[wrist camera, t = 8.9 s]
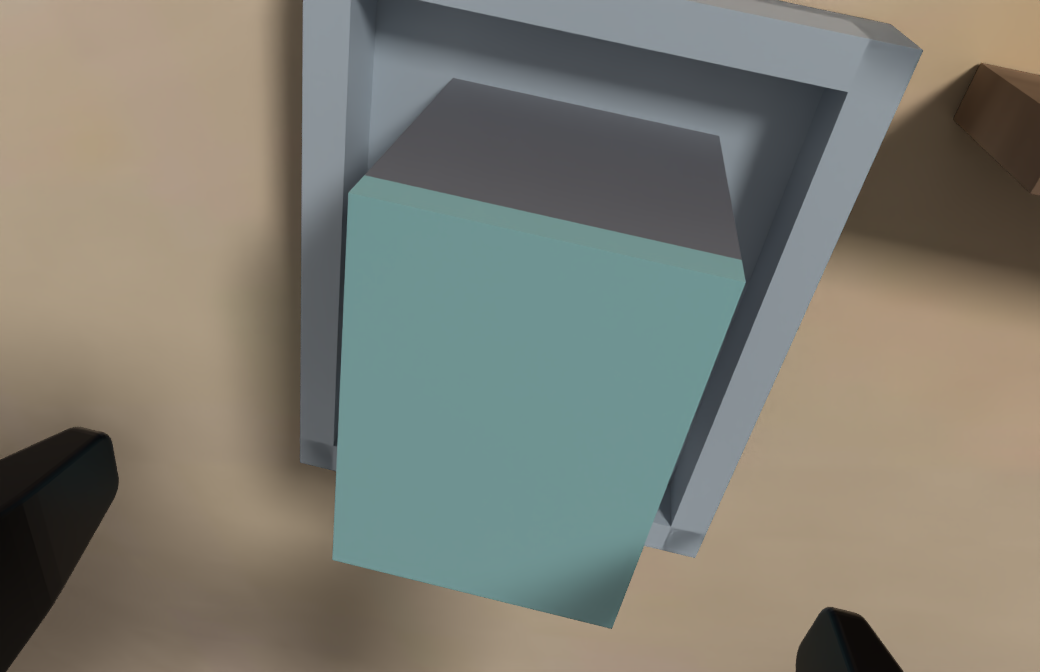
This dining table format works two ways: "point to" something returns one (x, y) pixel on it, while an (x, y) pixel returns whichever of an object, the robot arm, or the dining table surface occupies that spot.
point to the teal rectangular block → (526, 344)
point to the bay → (1005, 120)
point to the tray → (632, 92)
